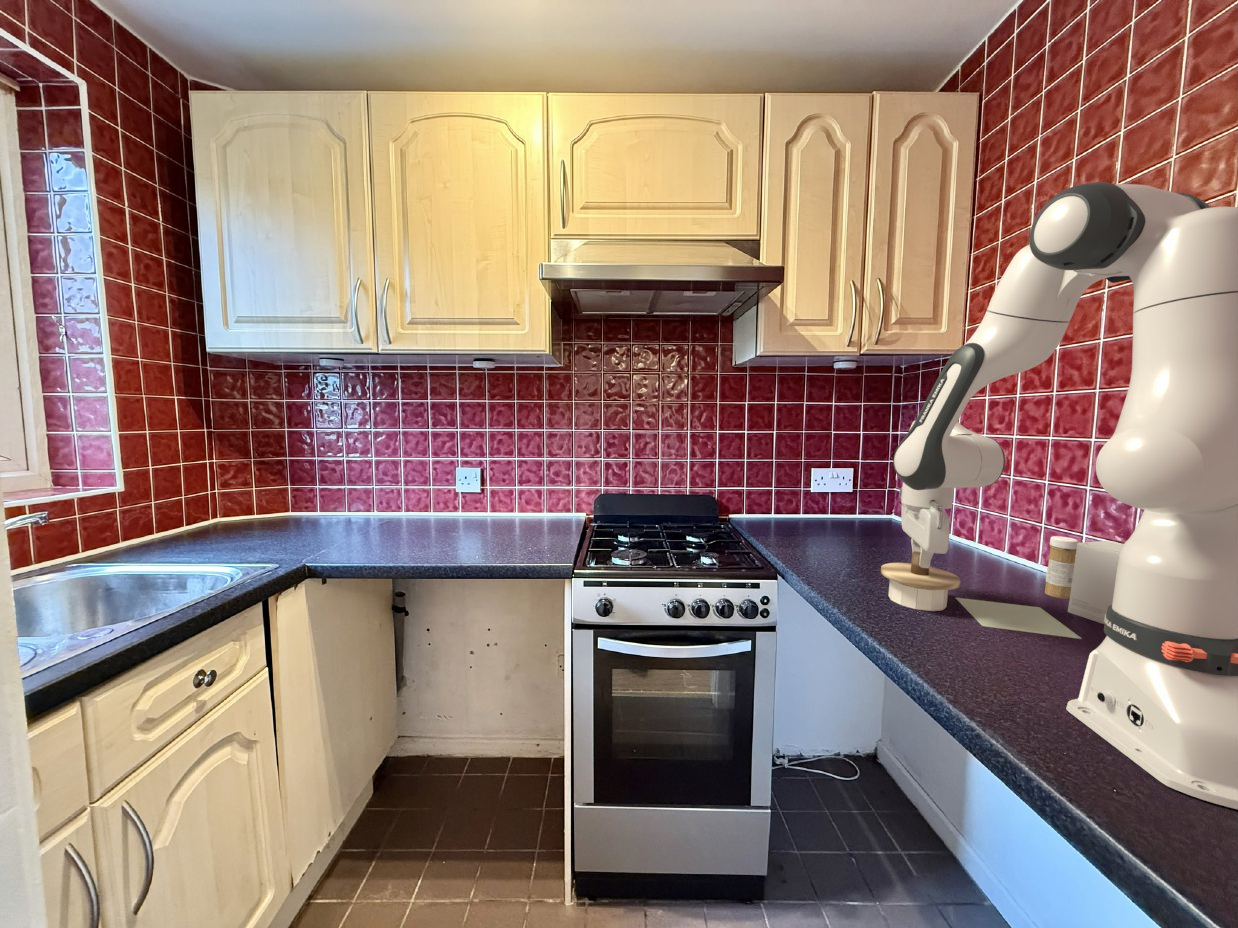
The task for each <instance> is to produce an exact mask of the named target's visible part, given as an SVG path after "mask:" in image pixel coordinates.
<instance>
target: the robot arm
mask: <svg viewBox="0 0 1238 928" xmlns="http://www.w3.org/2000/svg"><path fill="white" fill-rule="evenodd" d="M1032 222H1033V223H1032V224H1031V227H1030V232H1029V236H1028V237H1029V239H1028V240H1029V242H1028V243H1029V244H1027V245H1026V246H1024V247H1022V248H1021V249H1020V250H1019V251H1017V252H1016V254H1015V255H1014V256H1013V258H1012V259H1011V261H1010V263H1009V264H1008V266H1007V267H1006V269H1005V271H1004V272H1003V275H1002V276H1001V278H1000V280H999V282H998V283H997V286H996V287H995V290H994V292H993V294H992V297H991V298H990V301H989V304H988V306H987V307H986V308H987V309H986V312H985V314H984V316H983V319H982V320H981V321H980V323H979V326H978V327H977V328H976V330H975V331H974V333H973V334H972V335H971V337H970V338H969V339H968V340H967V341H966V342H965V344H963V345H962V346H960V347H958V348H957V349H955V351H954V352H953V353H952V355H951V356H950V357H949V359H948V360H947V362H946V363H945V365H944V367H943V368H942V370H941V372H940V373H939V374H938V377H937V379H936V381H935V383H934V385H933V386H932V388H931V391H930V392H929V394H928V396H927V398H926V399H925V402H924V404H923V405H922V408H921V410H920V411H919V413H918V414H917V417H916V419H915V420H913V421H912V423H911V425H910V427H909V430H908V432H907V433H906V435H905V436H904V437H903V439H901V441H900V442H899V444H898V445H897V447H896V449H895V450H894V454H893V458H892V459H893V460H892V462H893V463H892V465H893V469H894V472H895V473H896V475H897V476H898V478H899V479H900V480H901V482H902V487H901V488H900V489H899V493H898V494H899V495H898V496H899V497H898V498H899V499H900V502H901V508H900V509H901V510H900V511H901V523H900V524H901V528H902V530H903V532H905V534H907V535H908V536H909V538H911V539H910V543H911V544H910V546H911V550H912V551H911V553H912V552H921V553H920V557H919V559H918V565H919V566H920V567H921V568H930V567H931V562H932V561H931V560H932V558H933V556H934V554H943V555H945V554H947V552H948V550H949V548H950V547H949V546H950V544H949V543H950V517H949V515H948V513H947V512H945V510H949V509H952V508H953V500H954V491H955V489H963V488H964V489H965V488H982V487H988V486H991V485H993V484H995V483H996V482H998V480H999V479H1000V478H1001V476H1002V475H1003V472H1004V471H1005V468H1006V456H1005V451H1004V449H1003V447H1002V446H1001V444H1000V443H999V442H998V441H997V440H995V439H994V438H991V437H987V436H984V435H981V434H978V433H976V432H974V431H972V430H970V429H969V428H966V427H964V426H963V425H961V423H960V421H959V420H960V418H961V417H962V414H963V412H964V410H965V409H966V407H967V405H968V403H969V401H970V400H971V398H973V397H974V395H975V394H976V393H978V392H979V391H980V390H982V389H983V388H984V387H986V386H988V385H990V384H992V383H994V382H997V381H999V380H1003V379H1005V378H1006V377H1010V376H1012V375H1016V374H1021V373H1023V372H1026V371H1029V370H1031V369H1034V368H1035V367H1037V366H1039V365H1041V364H1042V363H1044V362H1045V361H1047V360H1048V359H1050V357H1051V356H1052V354H1054V352H1055V351H1056V349H1057V348H1058V346H1059V345H1060V343H1061V342H1062V340H1063V338H1064V336H1065V333H1066V331H1067V329H1068V327H1069V325H1070V321H1071V320H1072V317H1073V315H1074V312H1075V310H1076V308H1077V306H1078V303H1079V301H1080V299H1081V297H1082V296H1083V294H1084V292H1085V291H1086V290H1088V288H1089V287H1091V286H1092V285H1094V284H1096V282H1099V281H1101V280H1105V279H1106V280H1107V281H1108V282H1109V283H1120V282H1126V281H1130V280H1131V282H1132V286H1133V287H1132V288H1133V310H1132V311H1133V312H1132V313H1133V315H1132V351H1131V352H1132V353H1131V355H1132V358H1131V362H1132V363H1131V374H1130V380H1129V385H1128V389H1127V392H1126V396H1125V400H1124V402H1123V406H1122V410H1121V411H1120V415H1119V418H1118V421H1117V424H1116V427H1115V431H1114V432H1113V434H1112V436H1111V437H1110V438H1109V439H1108V440H1107V442H1106V443H1104V445H1103V446H1102V447H1101V449H1100V450H1099V452H1098V454H1097V457H1096V460H1095V461H1096V462H1095V472H1096V473H1095V474H1096V476H1097V480H1098V482H1099V484H1100V485H1101V487H1102V488H1103V489H1104V490H1105V491H1106V492H1107V494H1109V495H1110V496H1111V497H1112V498H1114V499H1115V500H1117V501H1119V502H1121V503H1123V504H1124V505H1127V506H1130V507H1133V508H1136V509H1140V510H1143V512H1142V515H1141V516H1140V519H1139V521H1138V524H1137V525H1136V527H1135V528H1134V531H1133V532H1132V534H1131V535H1130V536H1129V538H1128V539H1127V540H1126V541H1125V542H1124V543H1123V544H1124V545H1123V546H1122V548H1121V550H1120V553H1119V560H1118V567H1117V574H1116V581H1115V588H1114V595H1113V603H1112V605H1110V606H1108V608H1107V613H1106V614H1105V617H1104V622H1105V624H1103V625H1104V626H1103V632H1104V634H1105V635H1106V636H1105V638H1104V639H1103V640H1102V642H1101V643H1100V644H1099V645H1098V646H1097V647H1096V648H1095V649H1094V650H1092V651H1091V652H1090V653H1089V655H1088V659H1087V663H1086V666H1085V667H1086V668H1085V670H1084V674H1083V679H1082V683H1081V686H1080V691H1079V694H1078V697H1077V698H1074V699H1071V700H1069V701H1068V702H1067V705H1066V708H1065V709H1066V711H1068V712H1069V714H1071V715H1072V716H1074V717H1075V718H1076V719H1078V720H1079V721H1080V722H1082V723H1083V724H1084V725H1085V726H1086V727H1088V728H1089V729H1091V730H1092V731H1093V732H1094V733H1096V734H1097V735H1098V736H1100V737H1101V738H1102V739H1104V740H1105V741H1106V742H1108V743H1109V744H1110V745H1111V746H1113V747H1114V748H1115V749H1117V750H1118V751H1119V752H1121V753H1122V754H1123V755H1124V756H1126V757H1128V758H1129V759H1130V760H1131V761H1132V762H1134V763H1135V764H1136V765H1137V766H1139V767H1140V768H1141V769H1143V770H1144V771H1145V772H1146V773H1148V774H1150V775H1151V776H1152V777H1154V778H1155V779H1156V780H1157V781H1158V782H1160V783H1161V784H1163V785H1165V786H1166V787H1168V788H1171V789H1173V790H1175V791H1178V792H1181V793H1183V794H1186V795H1188V796H1191V797H1194V798H1197V799H1199V800H1202V801H1206V802H1209V803H1213V804H1216V805H1219V806H1224V807H1226V808H1231V809H1235V810H1238V207H1237V206H1212V207H1211V206H1210V204H1208V203H1207V202H1206V201H1204V200H1203V199H1201V198H1199V197H1197V196H1194V195H1192V194H1190V193H1189V194H1188V193H1185V192H1173V191H1170V190H1167V189H1163V188H1162V189H1161V188H1157V187H1154V186H1152V185H1148V184H1147V185H1145V184H1136V183H1133V184H1131V183H1111V182H1105V181H1097V182H1089V183H1083V184H1082V183H1081V184H1077V185H1074V186H1071V187H1069V188H1066V189H1064V190H1061V192H1060V191H1059V193H1057V194H1055V195H1054V196H1053V197H1052V198H1050V199H1049V200H1048V201H1047V202H1046V203H1045V204H1044V205H1043V207H1041V209H1040V210H1039V212H1038V213H1037V215H1036V216H1035V218H1034V220H1033V221H1032Z"/></svg>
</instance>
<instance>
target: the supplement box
mask: <svg viewBox="0 0 1238 928" xmlns="http://www.w3.org/2000/svg"><path fill="white" fill-rule="evenodd" d="M1123 545H1124V543H1118V542H1115V541H1110V540H1099V541H1098V540H1097V541H1088V542H1086V541H1085V542H1078V543H1077V550H1076V555H1075V564H1074V571H1073V578H1072V585H1071V592H1070V598H1069V600H1068V607H1067V613H1070V614H1072V615H1075V616H1077V617H1082V618H1084V619H1086V620H1087V619H1088V620H1091V621H1094V622H1095V623H1096V622H1097V623H1099V624H1102V625H1104V624H1105V622H1104V617H1105V614H1106V613H1107V608H1108V606H1110V605H1112V603H1113V595H1114V588H1115V581H1116V574H1117V567H1118V560H1119V553H1120V550H1121V548H1122V546H1123Z"/></svg>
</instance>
